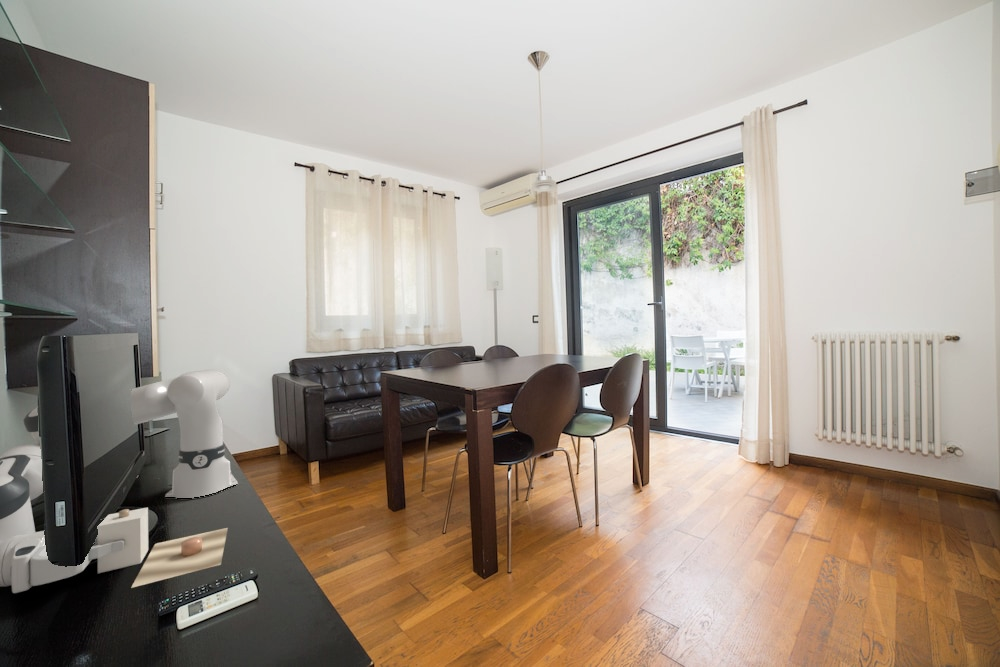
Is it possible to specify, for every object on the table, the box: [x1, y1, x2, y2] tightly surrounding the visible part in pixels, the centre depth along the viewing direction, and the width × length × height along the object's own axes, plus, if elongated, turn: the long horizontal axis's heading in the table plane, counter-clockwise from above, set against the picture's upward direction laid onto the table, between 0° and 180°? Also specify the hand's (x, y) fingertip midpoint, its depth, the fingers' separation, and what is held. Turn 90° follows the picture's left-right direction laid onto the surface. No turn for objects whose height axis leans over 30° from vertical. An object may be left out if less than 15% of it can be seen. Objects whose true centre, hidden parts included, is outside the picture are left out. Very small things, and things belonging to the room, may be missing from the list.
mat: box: [130, 527, 229, 589], centre depth 87 cm, size 20×14×1 cm
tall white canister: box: [97, 507, 149, 574], centre depth 85 cm, size 7×7×11 cm
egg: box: [181, 537, 202, 557], centre depth 88 cm, size 4×4×2 cm
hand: (129, 536), depth 86 cm, fingers closed on tall white canister, 7 cm apart
